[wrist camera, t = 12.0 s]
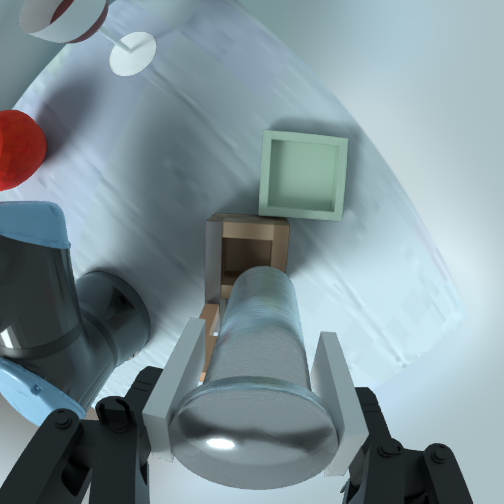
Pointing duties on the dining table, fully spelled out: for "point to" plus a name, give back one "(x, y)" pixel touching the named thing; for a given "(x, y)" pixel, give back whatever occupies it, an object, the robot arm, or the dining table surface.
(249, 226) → the block
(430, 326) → the dining table surface
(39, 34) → the wineglass
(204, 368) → the keeper
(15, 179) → the apple
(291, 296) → the pin
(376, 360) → the dining table surface
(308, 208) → the dish
